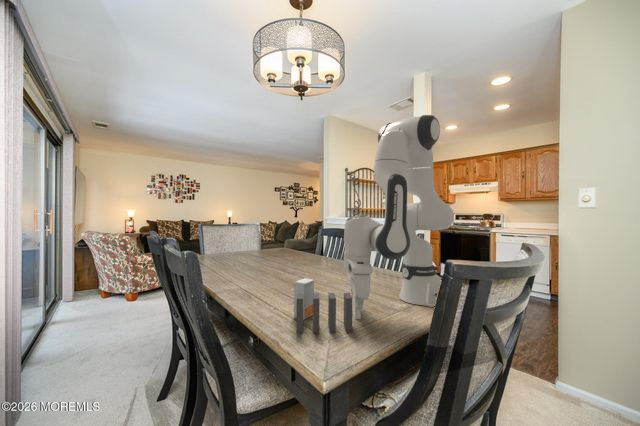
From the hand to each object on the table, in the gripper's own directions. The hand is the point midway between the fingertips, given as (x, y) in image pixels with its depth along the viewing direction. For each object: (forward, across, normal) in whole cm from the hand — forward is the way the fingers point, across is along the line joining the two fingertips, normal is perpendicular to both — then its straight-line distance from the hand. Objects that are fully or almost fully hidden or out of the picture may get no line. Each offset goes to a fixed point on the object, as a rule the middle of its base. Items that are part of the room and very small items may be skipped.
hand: (356, 303), depth 86 cm
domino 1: (+4, +9, -19) cm, 21 cm away
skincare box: (+4, 0, -18) cm, 18 cm away
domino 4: (+4, +9, -4) cm, 11 cm away
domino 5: (+4, 0, 0) cm, 4 cm away
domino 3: (+4, +9, -9) cm, 14 cm away
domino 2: (+4, +9, -14) cm, 17 cm away
